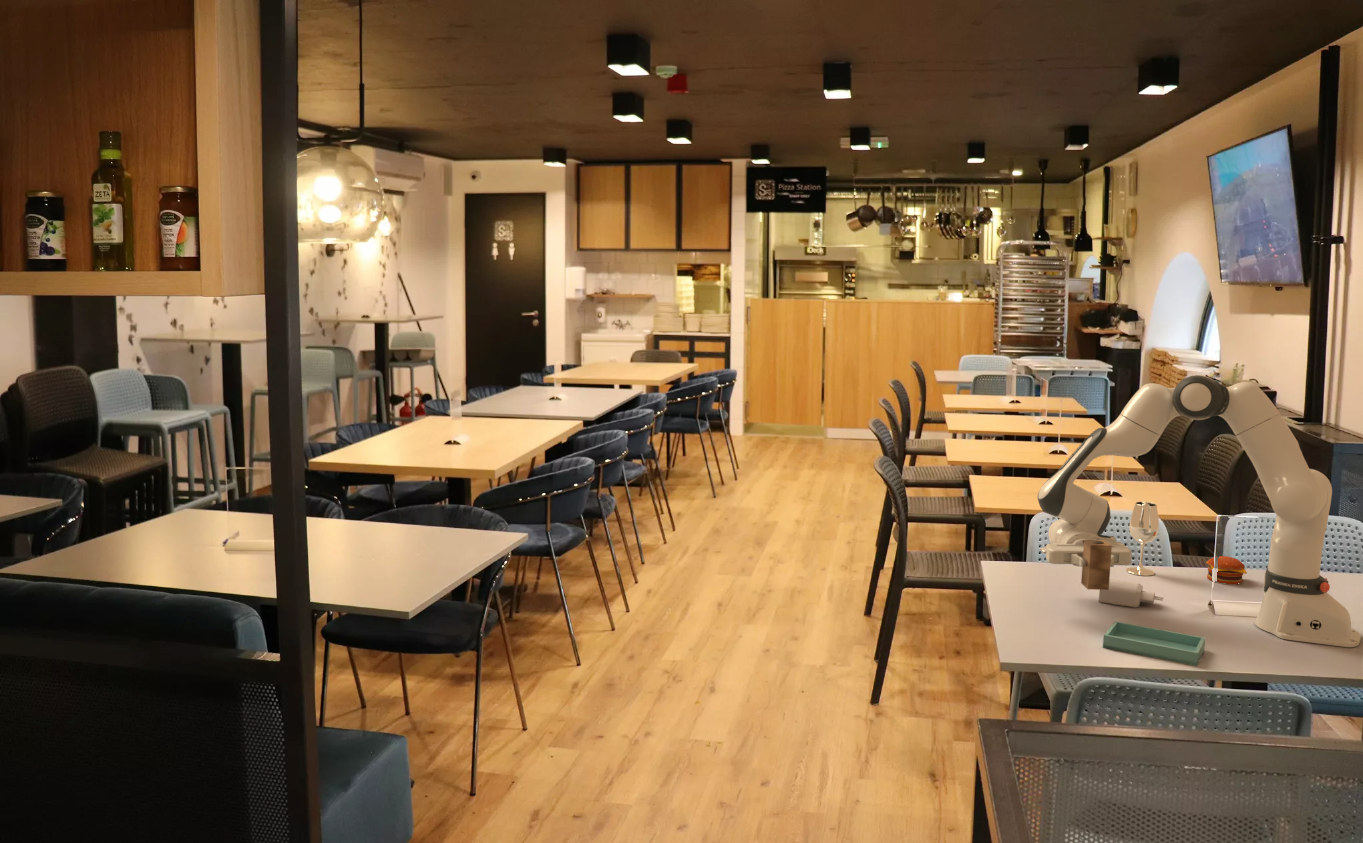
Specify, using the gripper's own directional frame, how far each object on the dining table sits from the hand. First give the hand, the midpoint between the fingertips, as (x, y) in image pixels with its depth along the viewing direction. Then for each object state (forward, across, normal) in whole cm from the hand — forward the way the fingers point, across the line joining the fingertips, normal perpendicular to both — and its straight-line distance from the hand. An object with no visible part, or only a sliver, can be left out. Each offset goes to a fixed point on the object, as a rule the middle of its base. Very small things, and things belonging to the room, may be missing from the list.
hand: (1097, 563), depth 271 cm
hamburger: (-42, +50, +16) cm, 68 cm away
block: (-1, 0, +6) cm, 6 cm away
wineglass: (-48, +29, +16) cm, 58 cm away
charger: (-20, +16, +16) cm, 30 cm away
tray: (+15, +9, +16) cm, 24 cm away
